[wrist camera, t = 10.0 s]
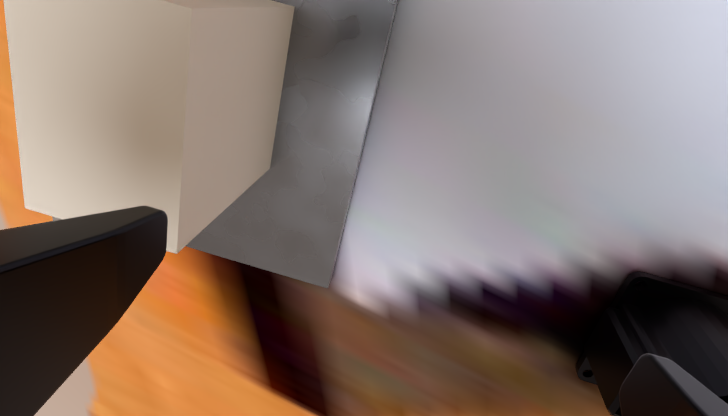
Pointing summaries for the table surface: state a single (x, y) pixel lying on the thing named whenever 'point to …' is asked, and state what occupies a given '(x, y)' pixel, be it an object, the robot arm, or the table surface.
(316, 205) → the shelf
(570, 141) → the table surface
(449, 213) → the table surface
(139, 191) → the tea box
